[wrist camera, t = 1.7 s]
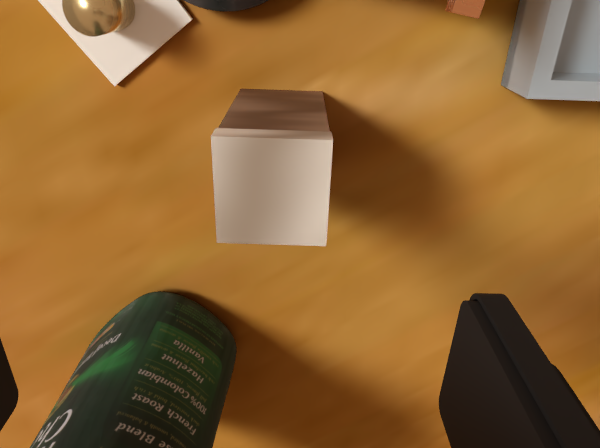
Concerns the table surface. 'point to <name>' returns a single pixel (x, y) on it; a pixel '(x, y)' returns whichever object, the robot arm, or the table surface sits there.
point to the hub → (226, 4)
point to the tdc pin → (98, 15)
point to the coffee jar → (147, 380)
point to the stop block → (273, 169)
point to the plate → (127, 35)
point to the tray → (555, 50)
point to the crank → (466, 7)
